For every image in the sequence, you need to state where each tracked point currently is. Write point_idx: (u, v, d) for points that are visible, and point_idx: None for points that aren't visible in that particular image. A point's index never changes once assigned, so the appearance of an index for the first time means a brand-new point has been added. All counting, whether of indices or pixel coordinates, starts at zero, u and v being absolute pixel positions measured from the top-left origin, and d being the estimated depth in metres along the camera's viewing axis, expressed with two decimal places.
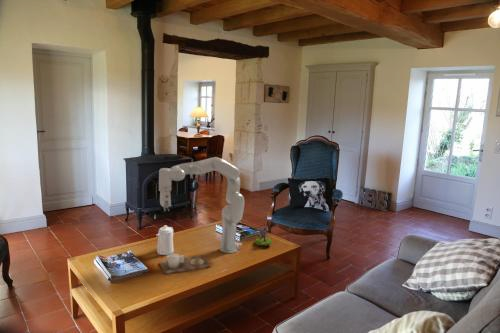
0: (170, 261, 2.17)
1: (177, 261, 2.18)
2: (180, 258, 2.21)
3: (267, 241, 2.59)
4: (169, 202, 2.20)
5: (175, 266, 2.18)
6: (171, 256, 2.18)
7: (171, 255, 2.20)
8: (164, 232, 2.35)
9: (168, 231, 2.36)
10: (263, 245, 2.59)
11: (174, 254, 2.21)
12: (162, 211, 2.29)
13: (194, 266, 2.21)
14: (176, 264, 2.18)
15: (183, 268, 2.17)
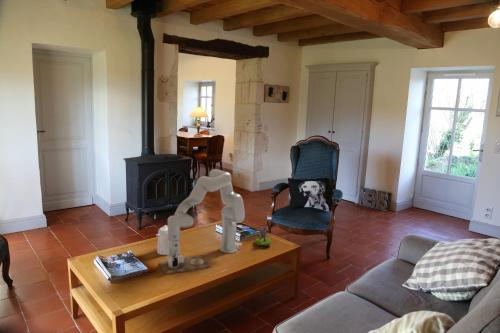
0: (170, 261, 2.17)
1: None
2: (180, 258, 2.21)
3: (267, 241, 2.59)
4: (178, 251, 2.15)
5: None
6: (171, 256, 2.18)
7: (171, 255, 2.20)
8: (164, 232, 2.35)
9: None
10: (263, 245, 2.59)
11: (174, 254, 2.21)
12: None
13: (194, 266, 2.21)
14: None
15: (183, 268, 2.17)
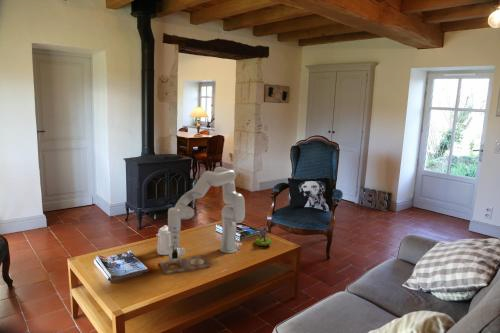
0: (170, 253, 2.17)
1: None
2: (181, 250, 2.20)
3: (267, 241, 2.59)
4: (177, 243, 2.14)
5: None
6: (171, 248, 2.18)
7: None
8: (164, 232, 2.35)
9: (168, 231, 2.36)
10: (263, 245, 2.59)
11: None
12: None
13: (194, 266, 2.21)
14: None
15: (183, 268, 2.17)
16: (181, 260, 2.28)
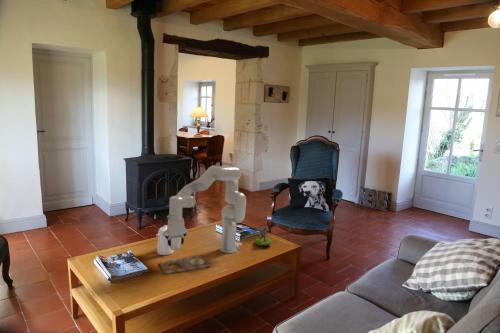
0: None
1: (171, 242, 2.16)
2: (176, 242, 2.15)
3: (267, 241, 2.59)
4: (168, 231, 2.14)
5: None
6: None
7: None
8: None
9: None
10: (263, 245, 2.59)
11: (178, 236, 2.18)
12: None
13: (194, 266, 2.21)
14: None
15: (183, 268, 2.17)
16: (181, 260, 2.28)
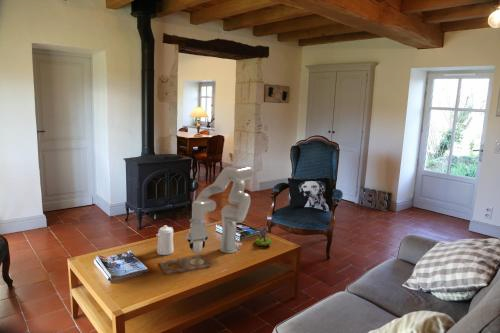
0: None
1: (193, 245, 2.22)
2: (198, 245, 2.21)
3: (267, 241, 2.59)
4: (190, 234, 2.20)
5: (192, 249, 2.24)
6: None
7: None
8: (164, 232, 2.35)
9: (168, 231, 2.36)
10: (263, 245, 2.59)
11: (200, 239, 2.25)
12: None
13: (194, 266, 2.21)
14: None
15: (183, 268, 2.17)
16: (181, 260, 2.28)
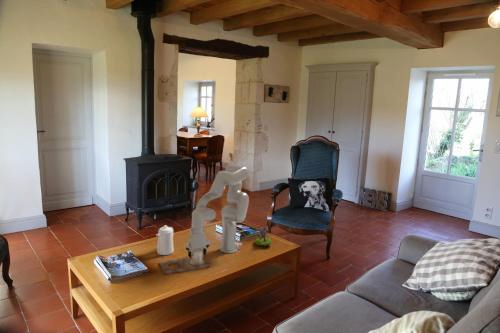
0: None
1: (193, 256, 2.24)
2: (198, 256, 2.23)
3: (267, 241, 2.59)
4: (190, 244, 2.21)
5: (192, 259, 2.25)
6: (195, 249, 2.27)
7: (198, 249, 2.28)
8: (164, 232, 2.35)
9: (168, 231, 2.36)
10: (263, 245, 2.59)
11: (200, 250, 2.26)
12: (203, 253, 2.29)
13: (194, 266, 2.21)
14: (192, 258, 2.25)
15: (183, 268, 2.17)
16: (181, 260, 2.28)
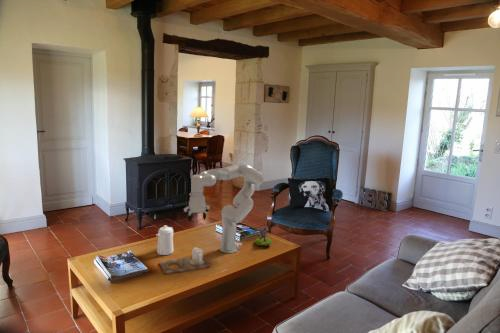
0: None
1: (193, 256, 2.24)
2: (198, 256, 2.23)
3: (267, 241, 2.59)
4: (190, 207, 2.26)
5: (192, 259, 2.25)
6: (195, 249, 2.27)
7: (198, 249, 2.28)
8: (164, 232, 2.35)
9: (168, 231, 2.36)
10: (263, 245, 2.59)
11: (200, 250, 2.26)
12: (203, 217, 2.34)
13: (194, 266, 2.21)
14: (192, 258, 2.25)
15: (183, 268, 2.17)
16: (181, 260, 2.28)
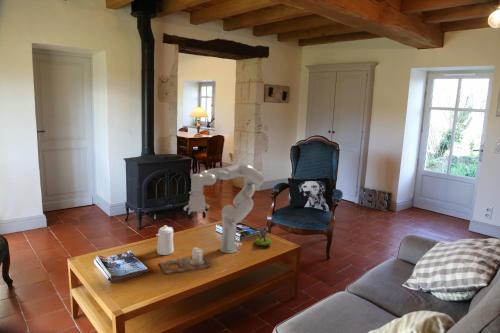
0: None
1: (193, 256, 2.24)
2: (198, 256, 2.23)
3: (267, 241, 2.59)
4: (190, 206, 2.26)
5: (192, 259, 2.25)
6: (195, 249, 2.27)
7: (198, 249, 2.28)
8: (164, 232, 2.35)
9: (168, 231, 2.36)
10: (263, 245, 2.59)
11: (200, 250, 2.26)
12: (203, 216, 2.34)
13: (194, 266, 2.21)
14: (192, 258, 2.25)
15: (183, 268, 2.17)
16: (181, 260, 2.28)
